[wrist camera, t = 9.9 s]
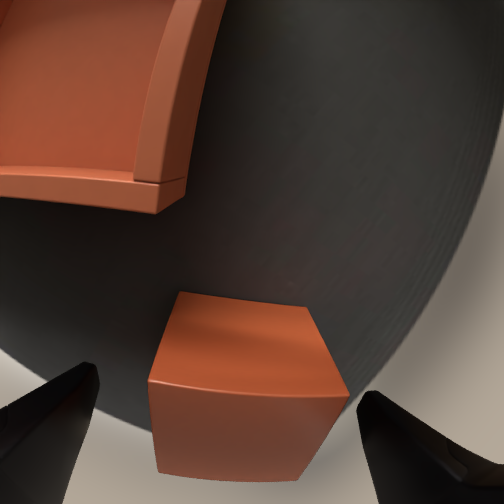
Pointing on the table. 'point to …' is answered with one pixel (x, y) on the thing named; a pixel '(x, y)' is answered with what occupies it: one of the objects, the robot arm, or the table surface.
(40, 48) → the terracotta bin
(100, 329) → the table surface
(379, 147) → the table surface
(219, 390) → the terracotta block
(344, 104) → the table surface
